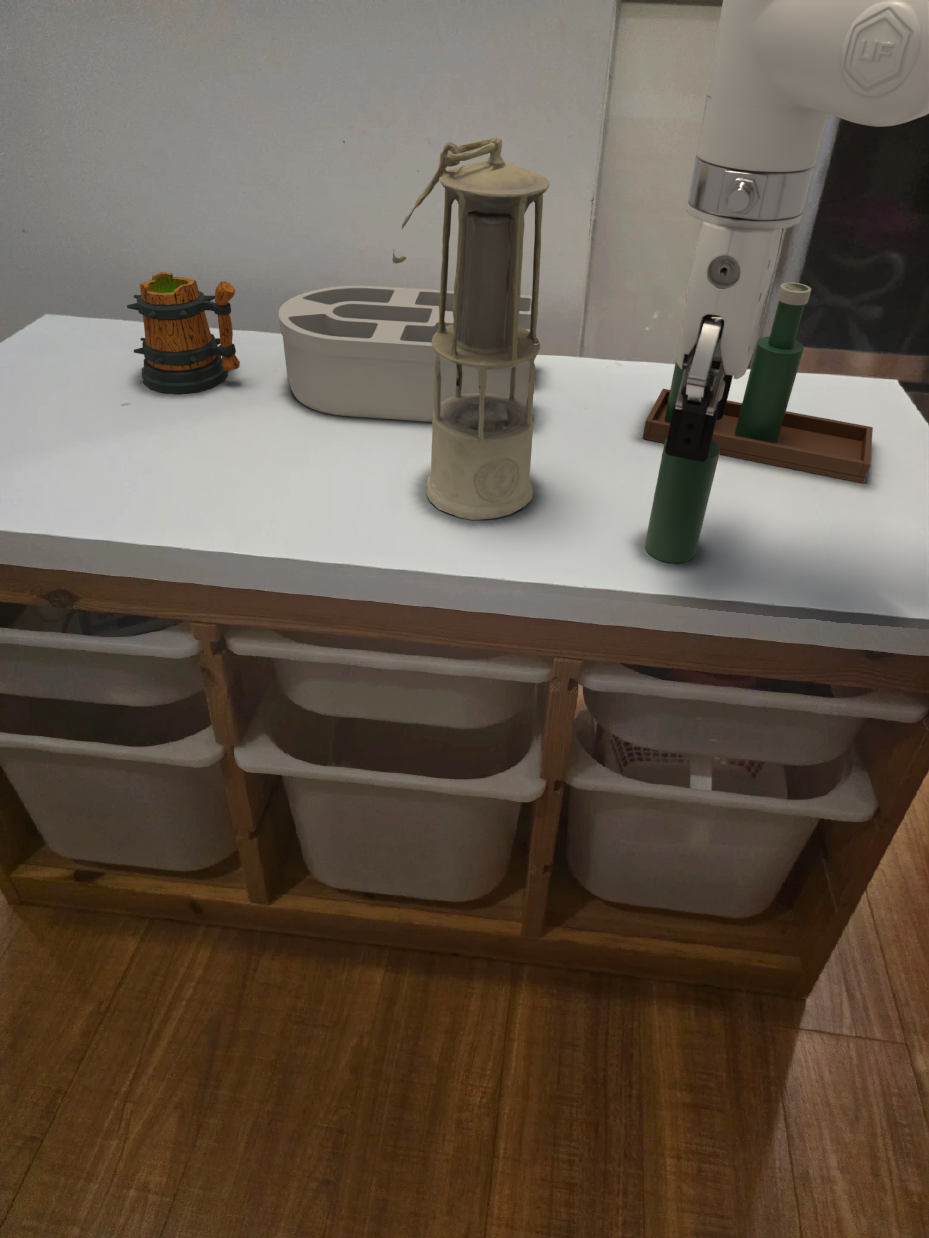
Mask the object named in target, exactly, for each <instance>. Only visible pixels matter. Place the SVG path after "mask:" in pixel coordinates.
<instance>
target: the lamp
mask: <svg viewBox="0 0 929 1238" xmlns="http://www.w3.org/2000/svg"><path fill="white" fill-rule="evenodd" d="M502 148H503V139H502V138H500V137H498V136H494V137H491V138H484V139H479V140H478V139H477V140H474V141H469V142H465V143H462V144H459V145H457V144H456V143H455V142H452V141H448V142H446V143H445V144H444V145H443V148H442V150H441V152H440V154H439V156H440V157H439V163H438V168H437V169H436V171H435V173H434V175H433V177H432V178H431V180H430V182H429V183H428V184H427V185H426V187H425V188H424V190H422V191H421V193H420V194H419V195H418V197H417V199H416V200H415V204H414V206H413V208H412V209H410V211H409V213H408V214H407V215H406V216H405V218H404V220H403V222H402V224H401V230H403V229H404V227H406V226H407V225H406V224H407V223H408V222H409V221H410V218H411V217H412V215H413V214H414V211H415V210H416V209H417V208H418V207H419V206H420V205H422V203H423V202H424V200H425V199H426V198H427V197H428V196H429V195H430V194H431V192H432V191H433V190H434V188H435V186H436V185H437V184H438V183H440V184H441V185H442V187H443V188H444V205H443V207H444V209H443V222H442V239H441V240H442V249H441V257H442V259H441V268H440V269H441V271H440V289H439V290H440V297H439V329H438V331H437V332H436V333H435V335H434V336H433V338H432V346H433V348H434V350H435V352H436V360H435V379H434V412H433V419H432V422H431V424H432V428H431V429H432V431H431V433H432V434H431V457H430V473H429V475H428V477H427V480H426V483H425V495H426V496H427V498H428V500H429V502H431V503H432V504H433V505H434V507H435V508H436V509H437V510H439V511H441V512H444V513H447V514H449V515H452V516H455V517H458V518H461V519H466V520H471V521H479V520H491V519H499V518H503V517H506V516H510V515H512V514H514V513H516V512H518V511H520V510H521V509H523V508H525V507H526V506H527V505H528V504H529V503H530V502H531V501H532V500H533V496H534V488H533V485H532V481H531V480H530V474H531V463H532V462H531V460H532V450H533V433H534V424H535V423H534V422H535V419H534V415H533V407H534V394H535V379H534V375H535V373H536V364H535V360H536V359H537V356H538V354H539V352H540V350H541V344H540V340H539V338H538V337H537V324H538V316H537V315H539V304H538V297H539V296H540V295H539V293H540V273H541V272H540V271H541V254H542V253H541V252H542V251H541V250H542V224H543V222H542V220H543V209H544V206H543V205H544V203H543V202H544V193H546V192H547V190H548V189H549V187H550V180H549V179H548V178H547V177H546V176H544V175H543V174H540V173H538V172H536V171H532V170H529V169H526V168H523V167H521V166H519V165H517V164H516V163H513V162H506V161H505V160H504V159H503V157H502V156H501V155H502V154H501V153H502ZM488 154H489V156H488V159H487V160H482V161H481V160H480V161H476V162H472V163H468V164H465V165H461V166H458V165H460V163H461V162H466V161H469V160H473V159H476V158H479V157H482V156H485V155H488ZM455 166H457V167H455ZM448 167H453V168H450V169H448V170H447V168H448ZM455 201H456V202H457V205H458V208H457V209H458V210H457V211H458V212H457V218H458V219H457V220H458V232H457V249H456V250H457V251H456V265H455V267H456V268H455V277H454V285H453V291H454V295H453V318H454V321H453V324H452V325H449V326H445V321H444V318H445V308H446V295H447V290H448V278H449V277H448V276H449V256H450V254H449V252H450V251H449V250H450V237H451V229H452V228H451V227H452V225H451V224H452V210H453V208H452V207H453V204H454V202H455ZM533 203H534V239H533V240H534V241H533V260H532V288H531V289H532V290H531V296H532V302H531V327H530V332H529V331H528V330H526V329H524V328H522V327H518V324H519V311H520V295H521V292H522V291H521V290H522V289H521V288H522V287H521V285H522V272H523V271H522V268H523V257H524V256H523V255H524V237H525V236H524V234H525V214H526V213H527V210H528V209H529V207H530V205H531V204H533ZM392 252H393V253H392V258H391V259H392V264H397V265H398V264H402V263H404V262H405V261H406V260H407V256H406V255H405V256H403V255H402V256H400V257H396V254H395V249H393V251H392ZM534 344H535V345H534ZM441 356H442V357H444V358H446V359H448V360H449V361H451V362H453V363H456V391H455V396H454V397H451V398H449V399H446V400H444V401H443V402H440V399H441V378H442V377H441V376H440V374H441V372H440V368H441V366H440V365H441V364H440V361H441V359H440V357H441ZM525 361H529V369H530V372H529V386H528V387H529V390H528V397H527V401H526V406H525V405H524V404H522V403H521V402H519V401H517V400H515V399H514V396H515V387H516V367H517V365H519V364H521V363H523V362H525ZM462 365H464V366H469V367H474V368H476V369H477V370H478V374H479V375H478V379H479V383H478V384H479V393H471V394H463V395H461V389H462ZM508 367H510V368H511V379H510V396H509V397H506V396H502V395H497V394H491V393H485V388H486V379H487V376H486V372H487V370H491V369H503V368H508Z"/></svg>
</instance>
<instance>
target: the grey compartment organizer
mask: <svg viewBox="0 0 929 1238" xmlns="http://www.w3.org/2000/svg"><path fill="white" fill-rule="evenodd" d="M453 295H454V290H448V289H447V295H446V308H445V318H444V321H445V326H449V325H452V324H453V321H454V318H453ZM439 297H440V289H428V288H414V287H413V288H410V287H394V286H378V285H358V284H357V285H356V284H355V285H340V286H339V285H338V286H330V287H323V288H319V289H314V290H310V291H306V292H303V293H301V294H298V295H296V296H293V297H291V298H290V299H288V300H286V301H285V302H283V304H282V305H281V306H280V307H279V310H278V320H279V331H280V334H281V336H282V343H283V351H284V352H283V353H284V360H285V370H286V379H287V381H288V383H289V386H290V389H291V391H292V393H293V396H294V397H295V399H297V401H298V402H300V403H301V404H302V405H304V406H305V407H307V408H309V409H312V410H315V411H318V412H320V413H324V414H328V415H335V416H342V417H343V416H344V417H345V416H346V417H355V418H370V419H371V418H373V419H384V420H398V421H399V420H401V421H413V422H414V421H415V422H427V423H428V422H430V423H432V419H433V412H434V379H435V360H436V352H435V350H434V348H433V346H432V338H433V336H434V335H435V333H436V332H437V331H438V329H439ZM531 302H532V294H531V295H530V294H520V311H519V324H518V327H522V328H524V329H526V330H528V331H529V332H530V327H531ZM539 302H540V296H538V305H539V304H540V303H539ZM538 315H539V314H538ZM538 315H537V317H539V316H538ZM534 345H536V343H535V344H534ZM440 359H441V361H440V364H441V365H440V366H441V368H440V372H441V374H440V376H441V377H442V378H441V399H440V402H443V401H444V400H446V399H449V398H451V397H454V396H455V391H456V363H453V362H451V361H449V360H448V359H446V358H444V357H442V356H441V357H440ZM529 372H530V369H529V361H525V362H523V363H521V364H519V365H517V367H516V387H515V396H514V399H515V400H517V401H519V402H521V403H522V404H524V405H525V406H526V401H527V397H528V390H529V387H528V386H529ZM478 375H479V374H478V370H477V369H476V368H474V367H469V366H464V365H462V389H461V395H463V394H471V393H479V384H478V383H479V379H478ZM486 376H487V379H486V388H485V393H491V394H497V395H502V396H506V397H509V396H510V379H511V368H510V367H508V368H503V369H491V370H487V372H486Z"/></svg>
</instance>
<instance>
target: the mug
mask: <svg viewBox="0 0 929 1238" xmlns="http://www.w3.org/2000/svg"><path fill="white" fill-rule="evenodd" d="M151 277H152V278H151V279H150V280H147V281H145V282H139V289H140V291H139V292H140V294H133V298H134V299H136V302H134V303H129V304H127V305H126V309H129V310H135V311H138V314H140V315H142V320H143V321H142V322H143V329H144V337H140V339H139V340H140V341H141V342H142V344H141V345H142V346H141V347H139V348H135V349H133V353H134V354H139V355H143V357H144V359H143V367H142V368H141V378H142V382H143V384H144V385H145V386H146V387H147V388H148V389H150V390H151V391H155V392H160V393H163V394H173V395H182V394H193V393H199V392H202V391H206V390H210V389H213V388H215V387H217V386H218V385H220V384H222V383H224V381H225V380H226V379H227V378H228V376H229V374H228V371H233V370H234V371H235V370H237V369H238V368H240V366H241V362H240V360H239V358H238V357H237V356H236V353H237V349H236V345H235V343H233V337H234V332H233V331H234V329H233V323H232V318H231V313H232V306H231V302H230V301H231V300H232V299H233V298H234V296H235V293H236V289H235V287H234V285H232V283H230V282H228V281H220V282H219V283H217V286H216V287H215V290H214V295H205V294H204V292H203V291H200V289H199V287H198V283H197V281H196V280H195V279H193V278H189V277H184V276H174V275H173V272H167V271H166V272H165V271H160V272H157V273H155V274H152V276H151ZM213 300H214V301H213ZM206 311H210V312H213V313H214V315H217V322H218V334H219V337H215V335H214V334H213V333H212V332H211V329H210V326H209V321H208V318H207V315H206Z"/></svg>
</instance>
